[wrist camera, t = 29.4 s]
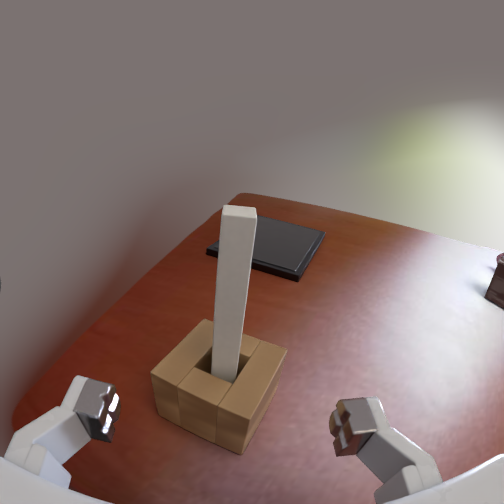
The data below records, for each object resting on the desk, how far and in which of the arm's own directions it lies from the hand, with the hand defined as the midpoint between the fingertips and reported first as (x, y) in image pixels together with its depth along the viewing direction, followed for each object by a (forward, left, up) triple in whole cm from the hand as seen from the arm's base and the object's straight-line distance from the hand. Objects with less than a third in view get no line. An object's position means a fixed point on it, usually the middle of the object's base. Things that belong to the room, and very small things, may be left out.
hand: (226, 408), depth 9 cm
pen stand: (-3, +7, -10) cm, 12 cm away
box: (+34, +43, -10) cm, 55 cm away
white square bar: (-3, +7, -10) cm, 12 cm away
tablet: (-10, +39, -10) cm, 41 cm away
